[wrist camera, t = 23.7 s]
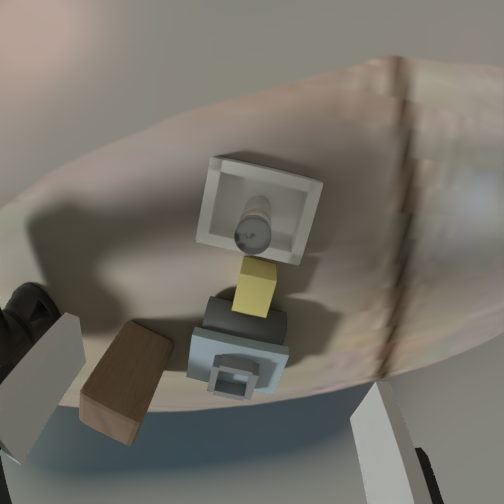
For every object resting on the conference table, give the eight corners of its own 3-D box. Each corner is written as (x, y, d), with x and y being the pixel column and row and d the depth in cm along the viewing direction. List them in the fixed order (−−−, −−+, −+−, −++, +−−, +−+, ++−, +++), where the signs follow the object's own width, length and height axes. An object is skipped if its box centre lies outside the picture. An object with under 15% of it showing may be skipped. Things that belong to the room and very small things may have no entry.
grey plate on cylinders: (195, 354, 52) (181, 399, 42) (207, 286, 47) (190, 328, 36) (268, 370, 53) (267, 416, 42) (291, 305, 47) (296, 351, 36)
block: (176, 340, 51) (141, 424, 33) (162, 371, 55) (131, 449, 36) (128, 316, 50) (77, 391, 32) (119, 350, 54) (77, 421, 35)
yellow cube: (235, 290, 47) (231, 310, 41) (243, 256, 45) (240, 273, 39) (266, 297, 47) (265, 317, 41) (276, 263, 45) (276, 281, 39)
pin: (242, 217, 42) (231, 250, 29) (248, 192, 40) (238, 215, 28) (267, 223, 42) (266, 258, 30) (273, 199, 40) (275, 224, 28)
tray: (201, 232, 44) (195, 241, 40) (216, 155, 39) (210, 157, 36) (297, 255, 44) (299, 265, 40) (318, 180, 40) (323, 184, 36)
